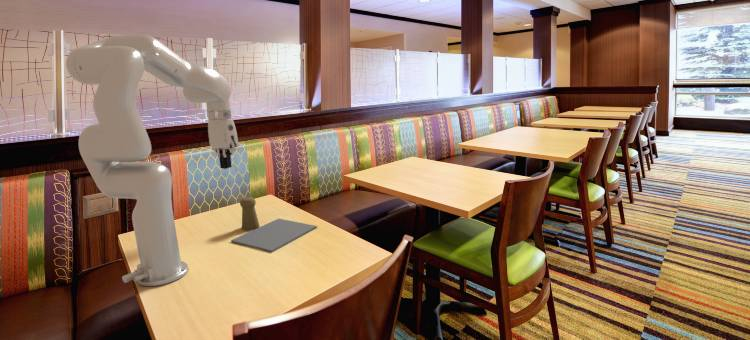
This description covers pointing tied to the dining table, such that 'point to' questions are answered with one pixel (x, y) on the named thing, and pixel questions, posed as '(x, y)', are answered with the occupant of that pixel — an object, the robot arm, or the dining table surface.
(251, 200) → the cork
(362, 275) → the dining table surface
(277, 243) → the mat
